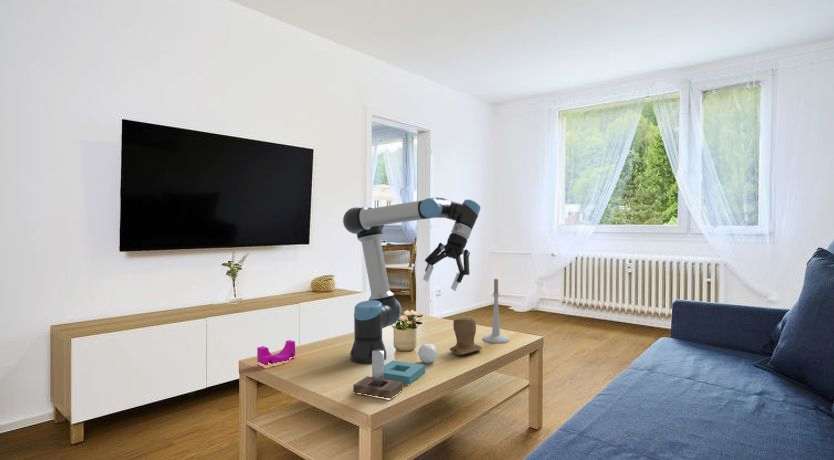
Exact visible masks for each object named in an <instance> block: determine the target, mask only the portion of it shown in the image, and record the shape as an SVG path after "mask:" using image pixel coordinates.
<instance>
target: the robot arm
mask: <svg viewBox="0 0 834 460" xmlns="http://www.w3.org/2000/svg"><path fill="white" fill-rule="evenodd" d="M480 211H481V205H480V204H479V202H477V201H476V200H475V201H474V200H473V199H464V201H463V202H462V203H461V202H457V201H452V200H450V199H447V198H445V197H435V198H434V197H429V198H424V199H423V200H416V201H410V202H403V203H397V204H391V205H385V206H379V207H366V206H364V207H357V206H356V207H352V208H349V209H348V210H347V211H346V212H345V213H344V215H343V218H342V222H343V223H342V225H343V226H344V228H345V229H346V230H347V232H349V233H351V234H355V235H356V238H357V240H358V241H359V242H361V245H362V246H361V247H362V252H363V257H364V262H365V267H366V268H365V269H366V273H367V279H368V284H369V291H370V296H369V299H368V300H366V301H365V300H364V301H361V302H358V303H357V304H355V306H354V310H353V311H354V312H353V318H354V321H353V322H354V323H353V324H354V325H353V326H354V331H353V332H354V342H353V344H352V347H351V351H350V356H349V358H350V360H351V361H352V362H353V363H357V364H372V351H373V350H378V349H380V350H384V361H385V360H386V359H387V351H386V347H385V344H384V340H383V329H384V328H387V327H389V326H390V327H391V326H392V325H394V324H395V323H397V322H398V321H397V320H398V319H399V320H400V318H401V316H402V306H401V304H400V302H399V301H398V300H397V299H396V297H395V293H394V292H392V291H391V290H390V289H391V287H390V285H389V284H390V283H389V279H388V277H389V276H388V274H387V268H386V263H385V257H384V256H385V255H384V252H383V248H382V247H383V246H382V241H381V239H382V237H383V235H384V234H383V229H384V227H385V226H386V225H393V224H399V223H407V222H413V221H419V220H427V219H435V218H436V219H437V218H439V219H440V218H441V219H448V220H451V221H454V224H453V226H452V228H451V229H452V230H451V231H450V232H451V233H450V234H449V236H448V238H447V242H446V243H445V244H443V243H442V242H439V243H438V245H437V246H436V248H434V250H433V251H432V252H431V253H430V254H429V255H428V256H427V257H426V258H425V259H424V262H425V263H427V265H426V268H425V270H424V271H425V273H424V274H423V278H422V280H423V281H425V282H428V281H429V279H430V277H431V274H432V272H433V270H434V265H436V264H437V263H439V262H440V261H442V260H443V259H445V258H449V259H450V258H451V259H453V260H455V262H456V265H457V270H458V272H456V274H455V277H454V279H453V282H452V284H451V287H450V289H451V290H453V291H455V292H456V291H457V288H458V286H459V284H461V283H462V280H463V279H464V276H469V275H470V259H469V258H470V255H471V254H470V253H471V252H470V251H469V250H468V249H467V248H466V245H467V243H468V240H469V238H470V236H471V234H472V231H473V229H474V226H475V224H476V221H477V219H478V217H479V214H480ZM461 255H463V257H462V258H463V263H462V258H461ZM396 321H397V322H396Z"/></svg>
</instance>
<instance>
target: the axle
mask: <svg viewBox="0 0 834 460" xmlns="http://www.w3.org/2000/svg"><path fill="white" fill-rule="evenodd" d="M371 365H372V367H371V374H372V375H371V377H372V386H376V387H383V386H384V365H385V360H384V350H380V349H378V350H373V351H372V363H371Z"/></svg>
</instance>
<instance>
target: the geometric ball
mask: <svg viewBox="0 0 834 460" xmlns="http://www.w3.org/2000/svg"><path fill="white" fill-rule="evenodd" d="M417 355H418V357H419V360H420V361H421V362H422V363H424V364H431V363H434V362H435V360H437V356H438V351H437V348H436V346H435V345H434V344H432V343H424V344H422V345H421V346H420V347H419V348H418V352H417Z"/></svg>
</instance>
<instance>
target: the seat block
mask: <svg viewBox="0 0 834 460" xmlns="http://www.w3.org/2000/svg"><path fill="white" fill-rule="evenodd" d="M425 374H426V364H419V363H414V362H406V361H399V360H391V361H389V362H388V363H386V364H384V379H387V380H393V381H399V382H403V385H405V384H409V385H408V386H410V384H411V383H412V384H413V383H414V382H416V381H417V380H419V378H420V376H421V377H422V376H423V375H425ZM416 379H417V380H416ZM415 380H416V381H415ZM412 384H411V385H412Z"/></svg>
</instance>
